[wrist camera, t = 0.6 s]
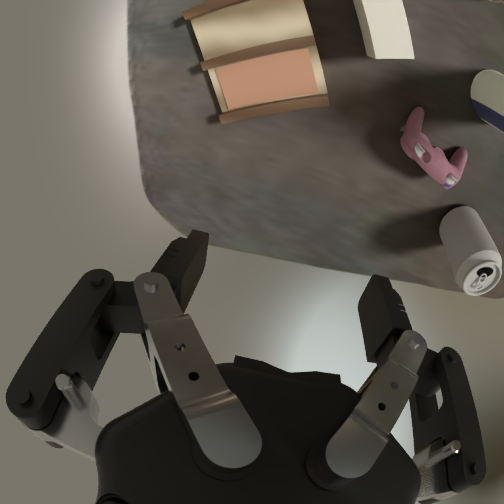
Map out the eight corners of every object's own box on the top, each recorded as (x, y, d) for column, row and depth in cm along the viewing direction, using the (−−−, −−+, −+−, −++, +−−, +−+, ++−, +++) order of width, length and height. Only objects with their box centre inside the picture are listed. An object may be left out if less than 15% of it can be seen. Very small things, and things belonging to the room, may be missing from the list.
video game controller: (396, 119, 29) (392, 156, 27) (418, 100, 25) (419, 135, 23) (446, 163, 31) (447, 202, 29) (469, 149, 26) (473, 188, 24)
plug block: (348, -13, 18) (354, -24, 14) (382, -13, 17) (394, -23, 13) (366, 55, 24) (375, 58, 20) (399, 55, 23) (414, 59, 18)
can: (483, 206, 31) (515, 262, 23) (467, 244, 36) (489, 301, 28) (445, 199, 33) (473, 256, 24) (431, 239, 38) (449, 298, 29)
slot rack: (191, 12, 24) (181, 11, 22) (297, -17, 19) (295, -22, 18) (227, 118, 33) (221, 124, 32) (329, 101, 29) (329, 105, 27)
